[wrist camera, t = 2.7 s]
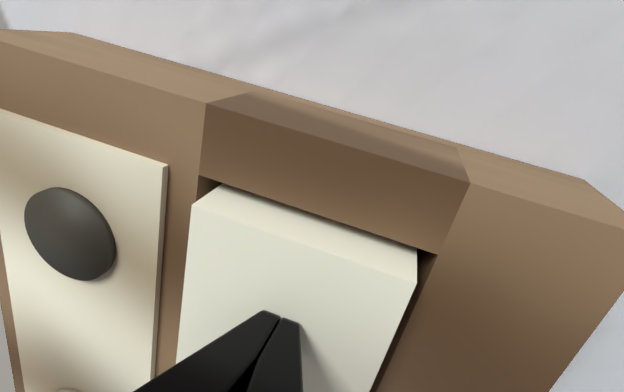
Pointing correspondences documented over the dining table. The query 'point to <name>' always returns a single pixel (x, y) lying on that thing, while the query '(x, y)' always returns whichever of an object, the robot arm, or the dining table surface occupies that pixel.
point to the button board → (283, 188)
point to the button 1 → (295, 284)
